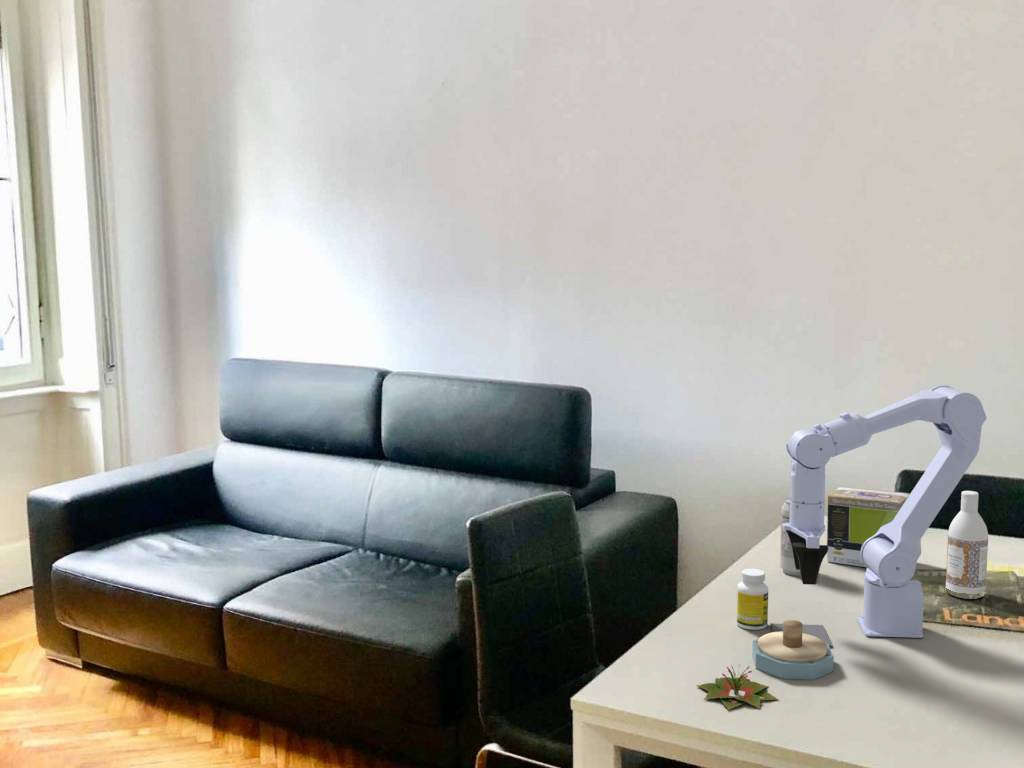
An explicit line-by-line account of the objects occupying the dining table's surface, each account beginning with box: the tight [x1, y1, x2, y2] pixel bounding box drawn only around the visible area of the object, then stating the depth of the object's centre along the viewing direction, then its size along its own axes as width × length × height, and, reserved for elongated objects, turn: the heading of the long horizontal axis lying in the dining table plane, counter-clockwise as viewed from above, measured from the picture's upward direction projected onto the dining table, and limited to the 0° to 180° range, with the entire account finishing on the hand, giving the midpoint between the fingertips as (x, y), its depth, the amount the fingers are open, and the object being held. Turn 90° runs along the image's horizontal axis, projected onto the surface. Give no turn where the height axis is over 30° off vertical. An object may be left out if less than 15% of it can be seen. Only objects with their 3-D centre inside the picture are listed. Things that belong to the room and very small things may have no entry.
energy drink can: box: [779, 497, 801, 577], centre depth 206 cm, size 6×6×15 cm
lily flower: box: [695, 664, 780, 711], centre depth 153 cm, size 12×12×5 cm
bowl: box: [752, 638, 835, 681], centre depth 163 cm, size 12×12×2 cm
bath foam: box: [945, 490, 989, 594], centre depth 191 cm, size 7×7×20 cm
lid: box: [758, 619, 827, 662], centre depth 163 cm, size 11×11×4 cm
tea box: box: [826, 486, 911, 568], centre depth 212 cm, size 15×10×15 cm, turn 58°
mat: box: [770, 623, 833, 649], centre depth 174 cm, size 9×9×1 cm
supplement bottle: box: [736, 568, 769, 631], centre depth 179 cm, size 5×5×10 cm
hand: (805, 576), depth 175 cm, fingers open, 7 cm apart
